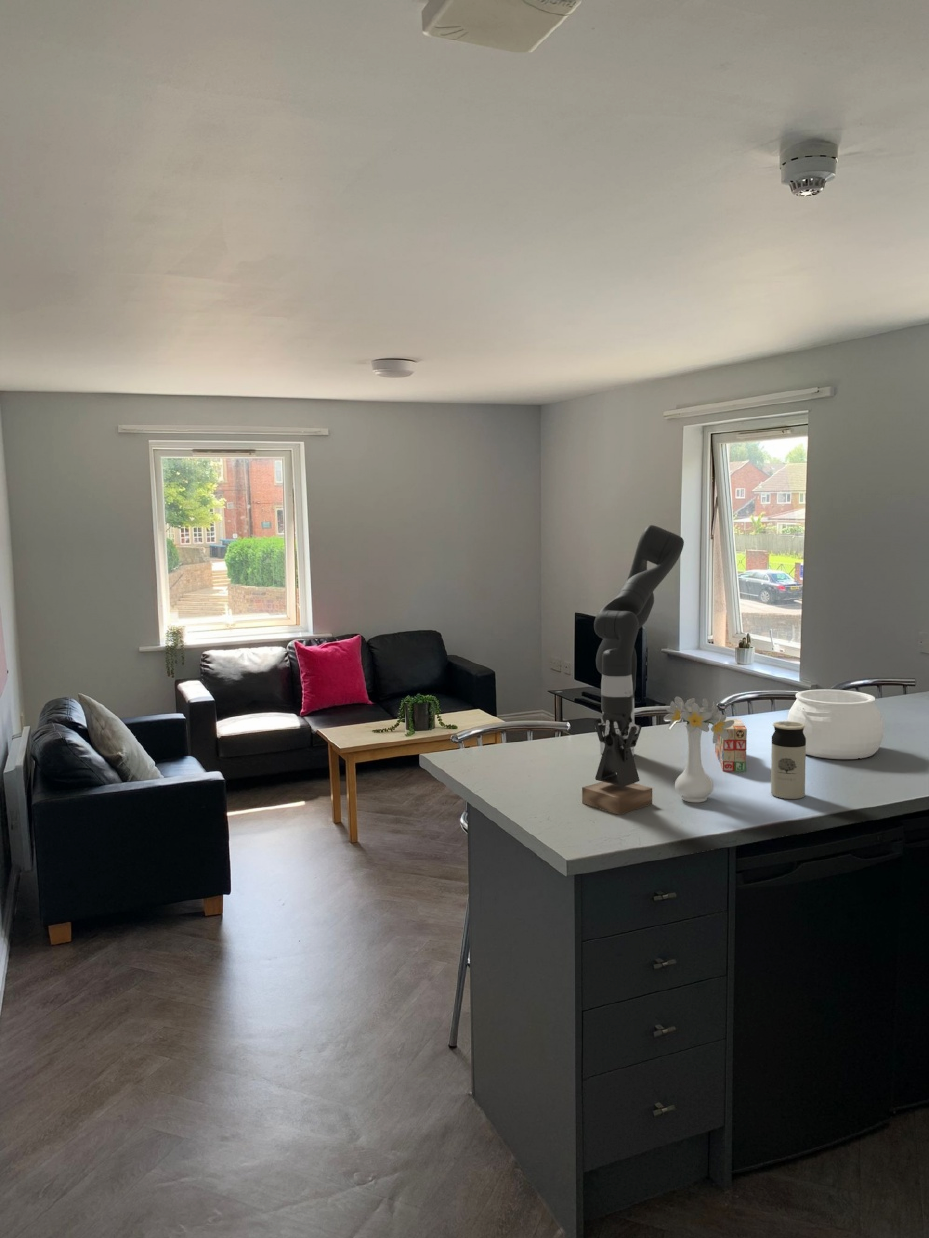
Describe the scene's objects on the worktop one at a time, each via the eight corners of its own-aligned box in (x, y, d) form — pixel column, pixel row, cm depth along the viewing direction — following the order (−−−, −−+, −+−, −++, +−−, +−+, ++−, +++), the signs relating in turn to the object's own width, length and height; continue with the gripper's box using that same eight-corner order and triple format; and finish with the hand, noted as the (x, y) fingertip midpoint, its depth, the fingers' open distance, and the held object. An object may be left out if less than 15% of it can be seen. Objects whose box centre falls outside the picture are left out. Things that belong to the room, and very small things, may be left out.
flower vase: (714, 813, 213) (715, 709, 211) (650, 797, 227) (650, 698, 224) (744, 801, 222) (745, 700, 219) (681, 786, 236) (681, 691, 233)
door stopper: (595, 779, 223) (594, 731, 222) (610, 774, 227) (610, 727, 226) (624, 786, 217) (624, 737, 216) (639, 781, 221) (639, 733, 220)
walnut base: (582, 803, 224) (582, 787, 223) (615, 793, 231) (615, 777, 231) (619, 814, 214) (619, 798, 214) (652, 804, 222) (652, 788, 221)
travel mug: (777, 788, 232) (778, 719, 230) (809, 794, 227) (810, 723, 225) (766, 796, 226) (766, 725, 224) (798, 802, 221) (799, 729, 219)
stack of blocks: (714, 752, 269) (714, 711, 268) (736, 752, 268) (736, 711, 267) (722, 772, 248) (723, 727, 247) (746, 772, 247) (746, 728, 246)
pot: (854, 768, 248) (856, 709, 246) (767, 751, 268) (767, 697, 266) (900, 749, 267) (902, 694, 265) (815, 735, 287) (816, 684, 285)
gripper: (584, 690, 223) (585, 759, 225) (628, 698, 212) (629, 770, 214) (605, 686, 228) (606, 754, 229) (649, 694, 217) (650, 764, 218)
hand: (617, 761), depth 222 cm, fingers closed on door stopper, 3 cm apart
